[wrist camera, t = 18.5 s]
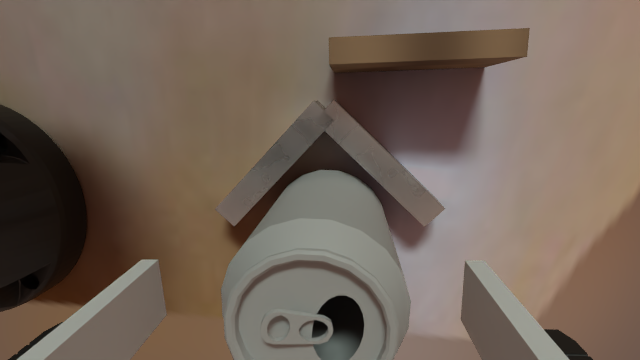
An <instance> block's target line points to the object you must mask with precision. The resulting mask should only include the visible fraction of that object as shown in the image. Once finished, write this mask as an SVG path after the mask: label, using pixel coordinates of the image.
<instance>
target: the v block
mask: <svg viewBox="0 0 640 360" xmlns="http://www.w3.org/2000/svg"><path fill="white" fill-rule="evenodd" d="M324 131H325V132H326V133H327V134H328V135H329V136H330V137H332V138H333V139H334V140H335V141H336V142H337V143H338V144H339V145H340V146H341V147H342V148H343V149H344V150H345V151H346V152H347V153H348V154H349V155H350V156H351V157H352V158H353V159H354V160H355V161H356V162H358V163H359V164H360V165H361V166H362V167H363V168H364V169H365V170H366V171H367V172H368V173H369V174H370V175H371V176H372V177H373V178H374V179H375V180H376V181H377V182H378V183H379V184H380V185H381V186H382V187H384V188H385V189H386V190H387V191H388V192H389V193H390V194H391V195H392V196H393V197H394V198H395V199H396V200H397V201H398V202H399V203H400V204H401V205H402V206H403V207H404V208H405V209H406V210H407V211H408V212H409V213H411V214H412V215H413V216H414V217H415V218H416V219H417V220H418V221H419V222H420V223H421V224H422V225H423V226H424V227H425V226H426V225H427V224H428V223H430V222H431V221H432V220H433V219H434V218H435V217H436V216H437V215H439V214H440V213H441V212H442V211H443V210H444V209H445V208H444V207H443V206H442V205H441V203H440V202H439V201H438V200H437V199H436V198H435V197H434V196H433V195H432V194H431V193H430V192H429V191H428V190H427V189H426V188H425V187H424V186H423V185H422V184H421V183H420V182H419V181H418V180H417V179H416V178H415V177H414V176H413V175H412V174H411V173H410V172H409V171H408V170H407V169H406V168H404V167H403V166H402V165H401V164H400V163H399V162H398V161H397V160H396V159H395V158H394V157H393V156H392V155H391V154H390V153H389V152H388V151H387V150H386V149H385V148H384V147H383V146H382V145H381V144H380V143H379V142H378V141H377V140H376V139H375V138H374V137H373V136H372V135H371V134H370V133H369V132H368V131H367V130H366V129H365V128H364V127H363V126H361V125H360V124H359V123H358V122H357V121H356V120H355V119H354V118H353V117H352V116H351V115H350V114H349V113H348V112H347V111H346V110H345V109H344V108H343V107H342V106H341V105H340V104H339V103H338V102H337V101H336V100H333V101H332V103H331V104H330V105H329V106H328V107H327V108H325V107H324V106H323V105H322V104H321V103H320V102H319V101H313V102H312V103H311V104H310V105H309V106H308V108H307V109H306V110H305V111H304V112H303V113H302V114H301V115H300V116H299V117H298V119H297V120H296V121H295V122H294V123H293V124H292V125H291V126H290V127H289V128H288V129H287V131H286V132H285V133H284V134H283V135H282V136H281V137H280V138H279V139H278V140H277V142H276V143H275V144H274V145H273V146H272V147H271V148H270V149H269V150H268V151H267V153H266V154H265V155H264V156H263V157H262V158H261V159H260V160H259V161H258V162H257V164H256V165H255V166H254V167H253V168H252V169H251V170H250V171H249V172H248V173H247V175H246V176H245V177H244V178H243V179H242V180H241V181H240V182H239V183H238V184H237V186H236V187H235V188H234V189H233V190H232V191H231V192H230V193H229V194H228V195H227V197H226V198H225V199H224V200H223V201H222V202H221V203H220V204H219V205H218V206H217V207H216V209H215V210H216V211H218V212H219V213H220V214H221V215H222V216H223V217H224V218H225V219H226V220H228V221H229V222H230V223H231V224H232V225H233V226H235V225H236V224H237V223H238V222H239V221H240V220H241V219H242V218H243V217H244V216H245V215H246V214H247V213H248V211H249V210H250V209H251V208H252V207H253V206H254V205H255V204H256V203H257V202H258V201H259V200H260V199H261V198H262V197H263V196H264V194H265V193H266V192H267V191H268V190H269V189H270V188H271V187H272V186H273V185H274V184H275V183H276V182H277V181H278V180H279V179H280V178H281V176H282V175H283V174H284V173H285V172H286V171H287V170H288V169H289V168H290V167H291V166H292V165H293V164H294V163H295V162H296V161H297V160H298V158H299V157H300V156H301V155H302V154H303V153H304V152H305V151H306V150H307V149H308V148H309V147H310V146H311V145H312V144H313V143H314V141H315V140H316V139H317V138H318V137H319V136H320V135H321V134H322V133H323V132H324Z"/></svg>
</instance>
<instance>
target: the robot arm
mask: <svg viewBox="0 0 640 360" xmlns="http://www.w3.org/2000/svg"><path fill="white" fill-rule="evenodd" d="M85 235H86V209H85V202H84V198H83V194H82V191H81V187H80V185H79V182H78V180H77V177H76V175H75V173H74V171H73V169H72V167H71V165H70V164H69V162H68V160H67V159H66V157H65V156H64V154H63V153H62V151H61V150H60V149H59V148H58V146H57V145H56V144H55V143H54V142H53V141H52V139H51V138H50V137H49V136H48V135H47V134H46V133H45V132H44V131H42V130H41V129H40V128H39V127H38V126H37V125H35V124H34V123H33V122H31V121H30V120H29V119H27V118H26V117H24V116H23V115H21V114H19V113H17V112H16V111H14V110H12V109H10V108H7V107H5V106H3V105H0V312H1V311H5V310H9V309H12V308H14V307H17V306H19V305H22V304H24V303H26V302H28V301H30V300H32V299H33V298H35V297H37V296H38V295H40V294H41V293H43V292H45V291H46V290H48V289H50V288H51V287H53V286H54V285H56V284H57V283H59V282H60V281H61V280H62V279H64V278H65V277H66V276H67V275H68V273H69V272H70V271H71V270H72V268H73V267H74V265H75V264H76V262H77V260H78V258H79V256H80V254H81V251H82V248H83V245H84V241H85ZM166 315H167V314H166V307H165V300H164V294H163V287H162V280H161V274H160V267H159V260H140V261H139V262H138V263H137V264H135V265H134V266H133V267H132V268H130V269H129V270H128V271H127V272H125V273H124V274H123V275H122V276H120V277H119V278H118V279H117V280H115V281H114V282H113V283H112V284H110V285H109V286H108V287H107V288H105V289H104V290H103V291H102V292H100V293H99V294H98V295H97V296H95V297H94V298H93V299H92V300H90V301H89V302H88V303H87V304H85V305H84V306H83V307H82V308H80V309H79V310H78V311H77V312H75V313H74V314H73V315H72V316H70V317H69V318H68V319H67V320H65V321H64V322H61V323H59V324H57V325H56V326H54V327H52V328H50V329H48V330H46V331H44V332H43V333H42V334H41V335H39V336H38V337H37V338H35V339H34V340H33V341H31V342H30V344H29V345H26V346H25V347H24V348H23V349H21V350H20V351H19V352H18V354H15V355H14V356H12V357H11V358H10V359H8V360H130V359H131V358H132V357H133V356H134V354H135V353H136V352H137V351H138V349H139V348H140V347H141V346H142V345H143V343H144V342H145V341H146V340H147V338H148V337H149V336H150V335H151V333H152V332H153V331H154V330H155V329H156V327H157V326H158V325H159V324H160V322H161V321H162V320H163V319H164V318H165V316H166ZM461 321H462V323H463V325H464V326H465V328H466V330H467V332H468V334H469V336H470V338H471V340H472V342H473V344H474V345H475V347H476V349H477V351H478V353H479V355H480V357H481V359H482V360H593V359H592V358H591V357H588V354H587V353H586V352H585V351H584V350H583V349H582V348H581V347H580V346H579V345H578V343H577V342H576V341H574V340H573V339H571V338H570V337H568V336H567V335H565V334H564V333H562V332H561V331H559V330H547V329H543V328H542V327H541V326H540V325H539V324H538V322H537V321H536V320H535V319H534V318H533V317H532V316H531V314H530V313H529V312H528V311H527V310H526V309H525V307H524V306H523V305H522V304H521V303H520V302H519V300H518V299H517V298H516V297H515V296H514V295H513V293H512V292H511V291H510V290H509V289H508V288H507V286H506V285H505V284H504V283H503V282H502V281H501V280H500V278H499V277H498V276H497V275H496V274H495V273H494V271H493V270H492V269H491V268H490V267H489V266H488V264H487V263H486V262H485V261H465V269H464V283H463V296H462V310H461Z"/></svg>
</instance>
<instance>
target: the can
mask: <svg viewBox="0 0 640 360" xmlns="http://www.w3.org/2000/svg"><path fill="white" fill-rule="evenodd" d="M221 294H222V314H223V318H224V332H225V340H226V342H227V345H228V347H229V349H230V352H231V354H232V357H233V360H393V359H394V356H395V355H396V353H397V351H398V349H399V347H400V345H401V343H402V340H403V339H404V336H405V334H406V332H407V330H408V327H409V315H410V303H411V300H410V297H409V293H408V290H407V286H406V282H405V279H404V275H403V272H402V269H401V265H400V262H399V259H398V256H397V252H396V249H395V246H394V243H393V240H392V236H391V233H390V230H389V227H388V223H387V220H386V217H385V214H384V211H383V207H382V204H381V202H380V200H379V199H378V197H377V196H376V195H375V193H374V192H373V190H372V189H371V188H370V187H369V186H368V185H367V184H365V183H364V182H363V181H361V180H360V179H359V178H357V177H356V176H353V175H350V174H347V173H345V172H342V171H339V170H318V171H315V172H311V173H308V174H304V175H302V176H301V177H299V178H298V179H296V180H295V181H293V182H292V183H290V184H289V185H288V186H287V187H286V189H285V190H284V191H283V193H282V194H281V195H280V196H279V198H278V199H277V200H276V202H275V203H274V204H273V206H272V207H271V208H270V210H269V211H268V212H267V214H266V215H265V216H264V218H263V219H262V220H261V222H260V223H259V224H258V226H257V227H256V228H255V230H254V231H253V232H252V234H251V235H250V236H249V238H248V239H247V240H246V242H245V243H244V245H243V246H242V247H241V249H240V250H239V251H238V253H237V254H236V255H235V257H234V258H233V259H232V261H231V262H230V263H229V265H228V269H227V272H226V275H225V279H224V282H223V285H222V288H221Z"/></svg>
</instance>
